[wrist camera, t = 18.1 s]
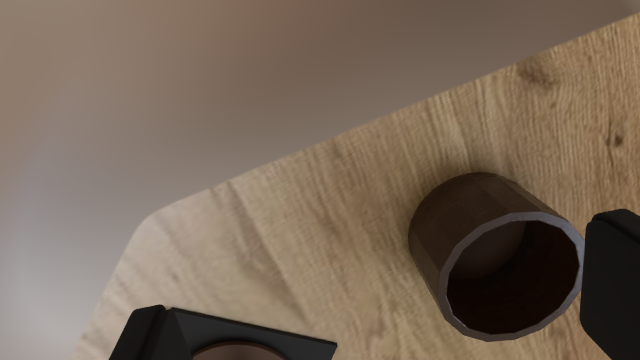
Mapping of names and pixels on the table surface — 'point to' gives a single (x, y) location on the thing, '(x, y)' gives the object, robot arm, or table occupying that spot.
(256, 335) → the mat
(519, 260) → the tin
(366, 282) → the table surface
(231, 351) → the tin lid
